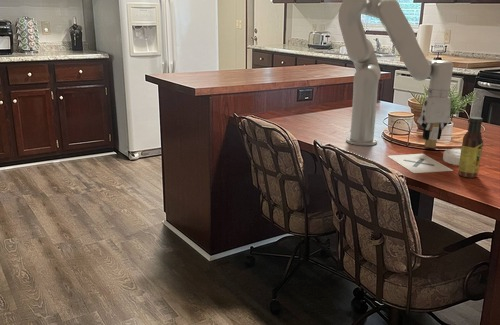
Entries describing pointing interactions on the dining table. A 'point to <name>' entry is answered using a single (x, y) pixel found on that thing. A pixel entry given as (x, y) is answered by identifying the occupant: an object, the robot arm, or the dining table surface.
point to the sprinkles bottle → (432, 135)
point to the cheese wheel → (452, 156)
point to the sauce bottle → (471, 149)
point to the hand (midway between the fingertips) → (431, 138)
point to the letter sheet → (419, 163)
